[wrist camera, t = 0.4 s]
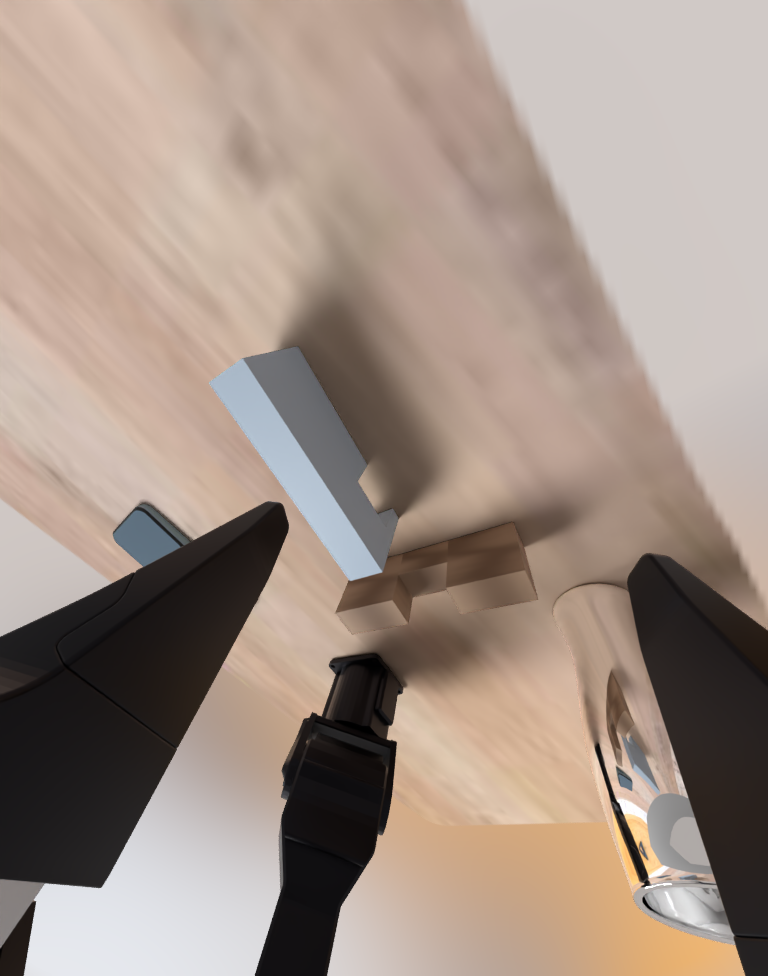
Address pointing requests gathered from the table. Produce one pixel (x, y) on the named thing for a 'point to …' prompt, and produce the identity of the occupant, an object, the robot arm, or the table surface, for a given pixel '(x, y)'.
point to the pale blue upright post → (309, 455)
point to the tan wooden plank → (442, 579)
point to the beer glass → (637, 765)
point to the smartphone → (147, 535)
